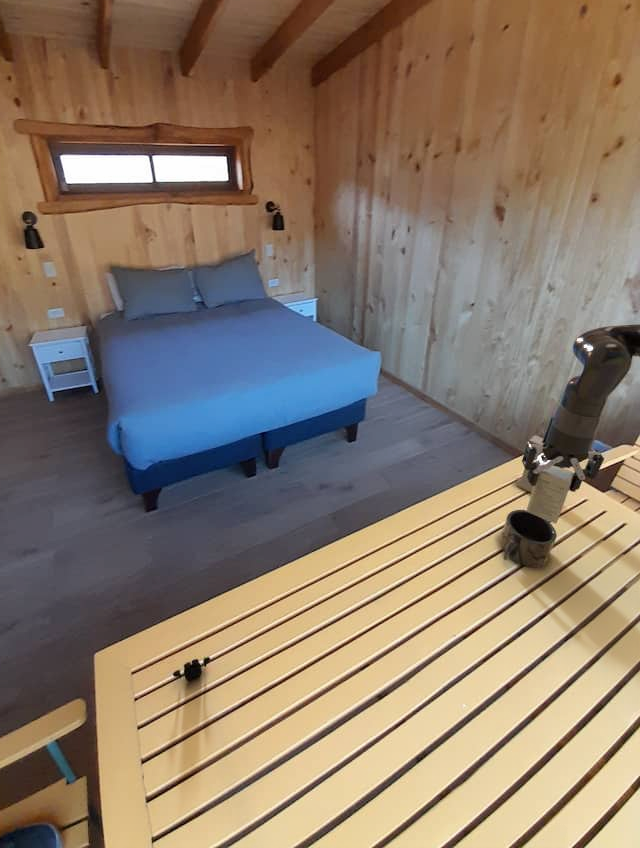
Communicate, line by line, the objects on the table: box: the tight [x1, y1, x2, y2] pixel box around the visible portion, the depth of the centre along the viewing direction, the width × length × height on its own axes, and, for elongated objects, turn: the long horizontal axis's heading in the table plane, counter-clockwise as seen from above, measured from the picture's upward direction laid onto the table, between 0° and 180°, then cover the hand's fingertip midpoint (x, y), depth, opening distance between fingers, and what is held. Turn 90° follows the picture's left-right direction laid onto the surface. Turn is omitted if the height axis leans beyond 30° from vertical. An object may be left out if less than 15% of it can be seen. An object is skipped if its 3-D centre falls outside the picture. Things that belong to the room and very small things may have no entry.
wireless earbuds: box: [172, 656, 211, 682], centre depth 75 cm, size 7×2×5 cm, turn 113°
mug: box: [499, 509, 557, 568], centre depth 98 cm, size 14×10×8 cm
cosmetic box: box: [525, 466, 575, 525], centre depth 90 cm, size 6×4×12 cm
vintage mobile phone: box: [515, 417, 553, 493], centre depth 114 cm, size 4×5×25 cm
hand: (551, 486), depth 90 cm, fingers closed on cosmetic box, 7 cm apart
